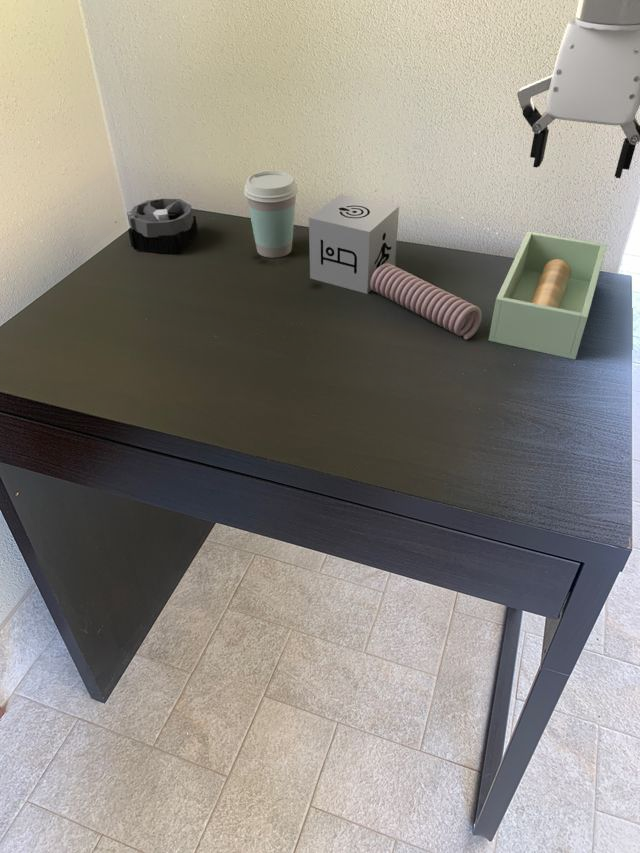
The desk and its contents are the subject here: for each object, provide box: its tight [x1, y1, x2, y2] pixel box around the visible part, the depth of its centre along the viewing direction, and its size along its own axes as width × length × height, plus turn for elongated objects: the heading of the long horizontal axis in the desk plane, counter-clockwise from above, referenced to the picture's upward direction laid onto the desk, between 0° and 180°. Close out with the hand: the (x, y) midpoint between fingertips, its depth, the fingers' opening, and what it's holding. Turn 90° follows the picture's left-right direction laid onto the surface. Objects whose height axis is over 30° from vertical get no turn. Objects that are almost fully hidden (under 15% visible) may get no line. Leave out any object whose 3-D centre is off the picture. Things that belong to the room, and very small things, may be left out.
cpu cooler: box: [126, 198, 199, 254], centre depth 115 cm, size 10×6×10 cm
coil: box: [371, 263, 483, 340], centre depth 98 cm, size 5×5×18 cm
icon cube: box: [308, 193, 400, 295], centre depth 105 cm, size 10×10×10 cm
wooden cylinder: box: [530, 259, 571, 309], centre depth 97 cm, size 16×4×4 cm
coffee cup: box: [243, 169, 299, 259], centre depth 111 cm, size 9×8×12 cm
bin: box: [488, 230, 608, 361], centre depth 97 cm, size 12×22×7 cm, turn 156°
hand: (577, 169), depth 84 cm, fingers open, 9 cm apart
